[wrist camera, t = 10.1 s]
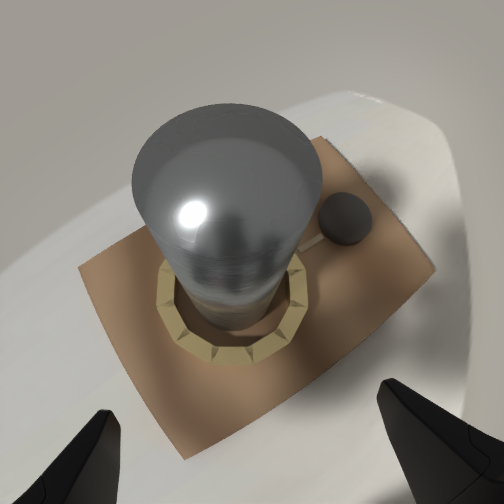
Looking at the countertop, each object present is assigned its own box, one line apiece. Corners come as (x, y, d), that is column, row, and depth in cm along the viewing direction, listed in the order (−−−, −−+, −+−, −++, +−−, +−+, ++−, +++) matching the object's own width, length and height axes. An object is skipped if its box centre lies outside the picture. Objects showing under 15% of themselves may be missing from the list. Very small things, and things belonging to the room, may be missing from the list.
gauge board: (319, 142, 24) (323, 127, 22) (430, 274, 20) (443, 266, 18) (82, 271, 19) (71, 262, 17) (186, 456, 15) (181, 464, 13)
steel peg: (284, 308, 18) (359, 201, 7) (216, 345, 17) (175, 295, 6) (246, 246, 19) (261, 87, 8) (182, 279, 18) (112, 143, 7)
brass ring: (324, 268, 19) (330, 261, 18) (260, 391, 16) (262, 392, 15) (209, 207, 20) (208, 198, 19) (136, 316, 17) (130, 312, 16)
